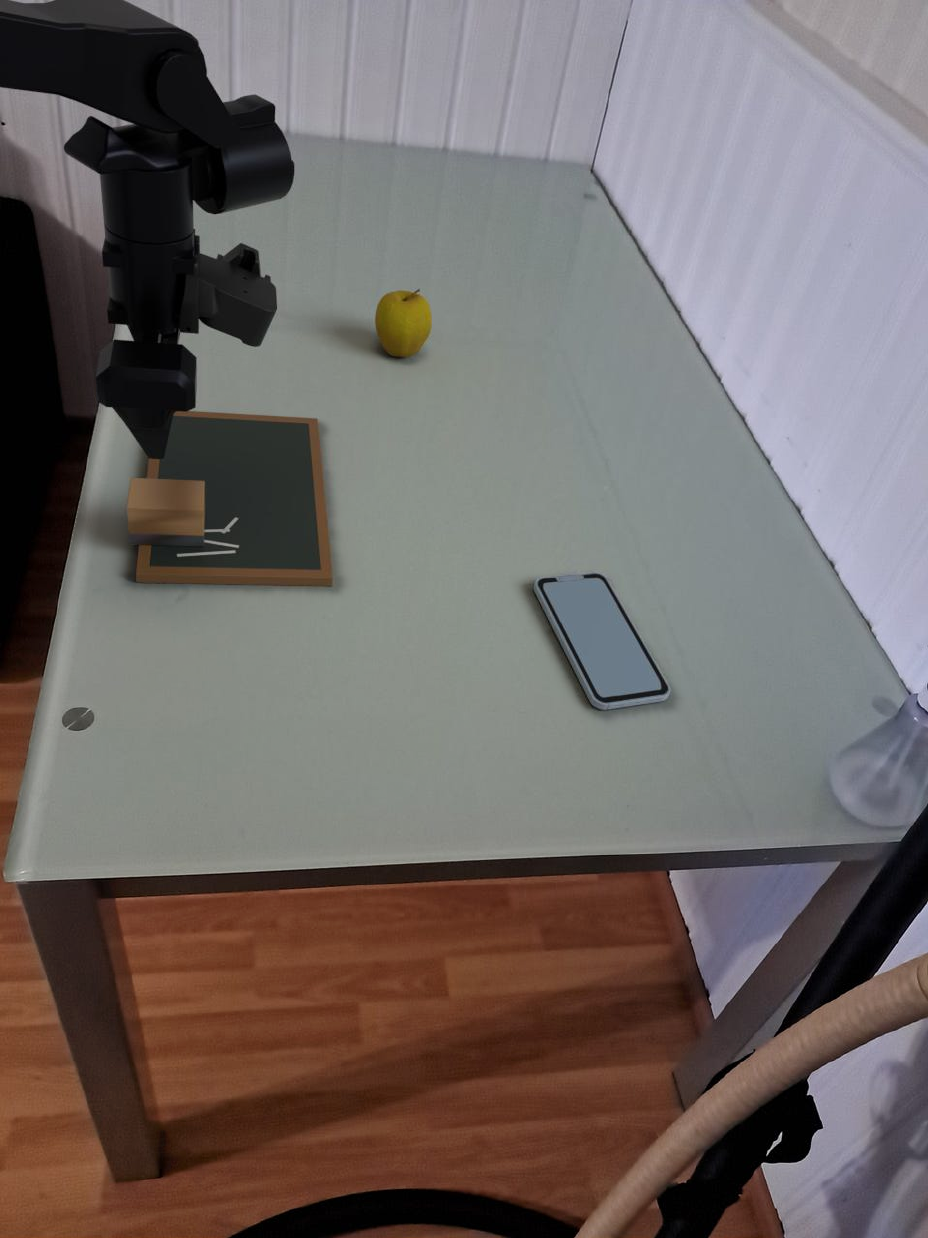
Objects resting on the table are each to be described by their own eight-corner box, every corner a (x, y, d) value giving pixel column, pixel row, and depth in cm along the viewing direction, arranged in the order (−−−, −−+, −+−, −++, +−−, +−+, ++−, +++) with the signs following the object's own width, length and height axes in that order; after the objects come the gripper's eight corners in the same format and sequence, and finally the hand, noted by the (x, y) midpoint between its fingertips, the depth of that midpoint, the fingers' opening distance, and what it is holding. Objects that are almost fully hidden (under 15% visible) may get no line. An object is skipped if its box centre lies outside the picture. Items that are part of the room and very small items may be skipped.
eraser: (129, 545, 80) (126, 507, 78) (133, 514, 83) (130, 477, 80) (204, 546, 82) (203, 510, 79) (205, 516, 84) (204, 480, 82)
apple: (436, 354, 114) (447, 290, 108) (405, 373, 109) (414, 308, 104) (393, 332, 116) (401, 269, 110) (360, 350, 111) (368, 285, 106)
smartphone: (596, 706, 77) (531, 578, 86) (593, 713, 77) (529, 584, 87) (675, 694, 79) (603, 570, 89) (672, 701, 80) (601, 577, 89)
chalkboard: (136, 582, 79) (135, 573, 78) (154, 416, 95) (154, 408, 94) (332, 586, 83) (333, 577, 82) (316, 426, 99) (317, 417, 98)
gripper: (275, 303, 59) (267, 501, 70) (269, 183, 72) (263, 366, 83) (84, 287, 57) (106, 495, 68) (113, 165, 70) (127, 356, 80)
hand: (160, 422), depth 75 cm, fingers open, 9 cm apart
